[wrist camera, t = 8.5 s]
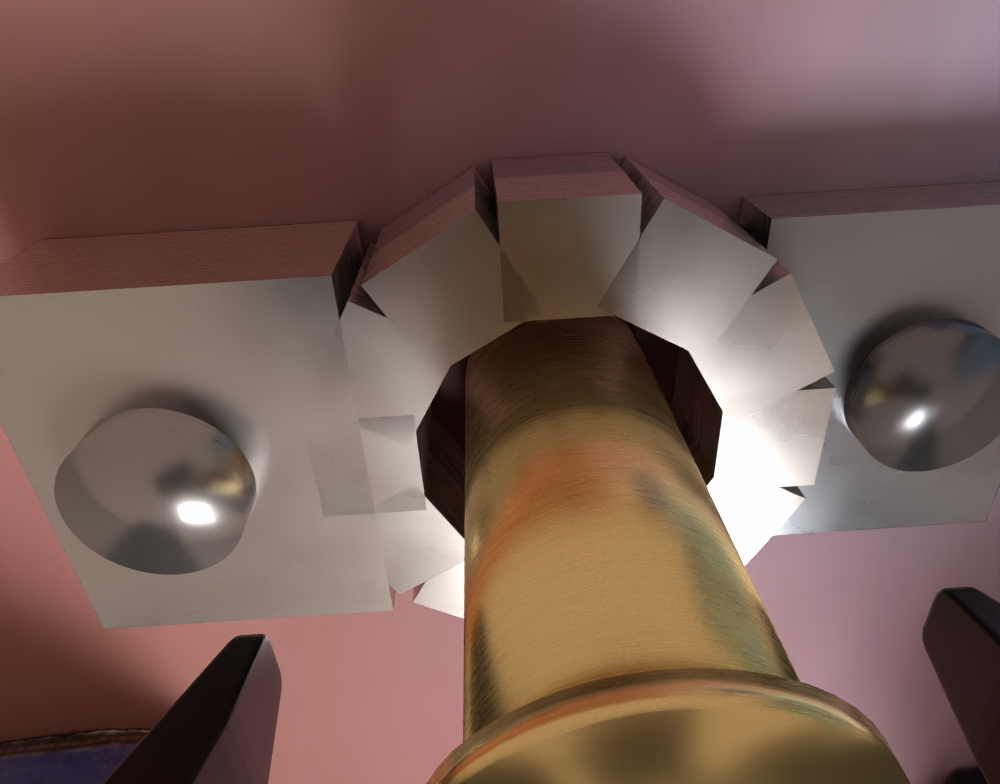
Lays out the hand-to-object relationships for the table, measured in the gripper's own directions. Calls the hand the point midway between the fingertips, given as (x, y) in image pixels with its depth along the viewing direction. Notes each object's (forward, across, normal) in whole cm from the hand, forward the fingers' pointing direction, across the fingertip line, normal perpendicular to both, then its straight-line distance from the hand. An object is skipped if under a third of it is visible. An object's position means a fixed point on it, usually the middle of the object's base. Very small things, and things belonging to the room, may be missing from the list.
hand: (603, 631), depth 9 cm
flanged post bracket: (+7, 0, 0) cm, 7 cm away
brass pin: (+7, 0, 0) cm, 7 cm away
